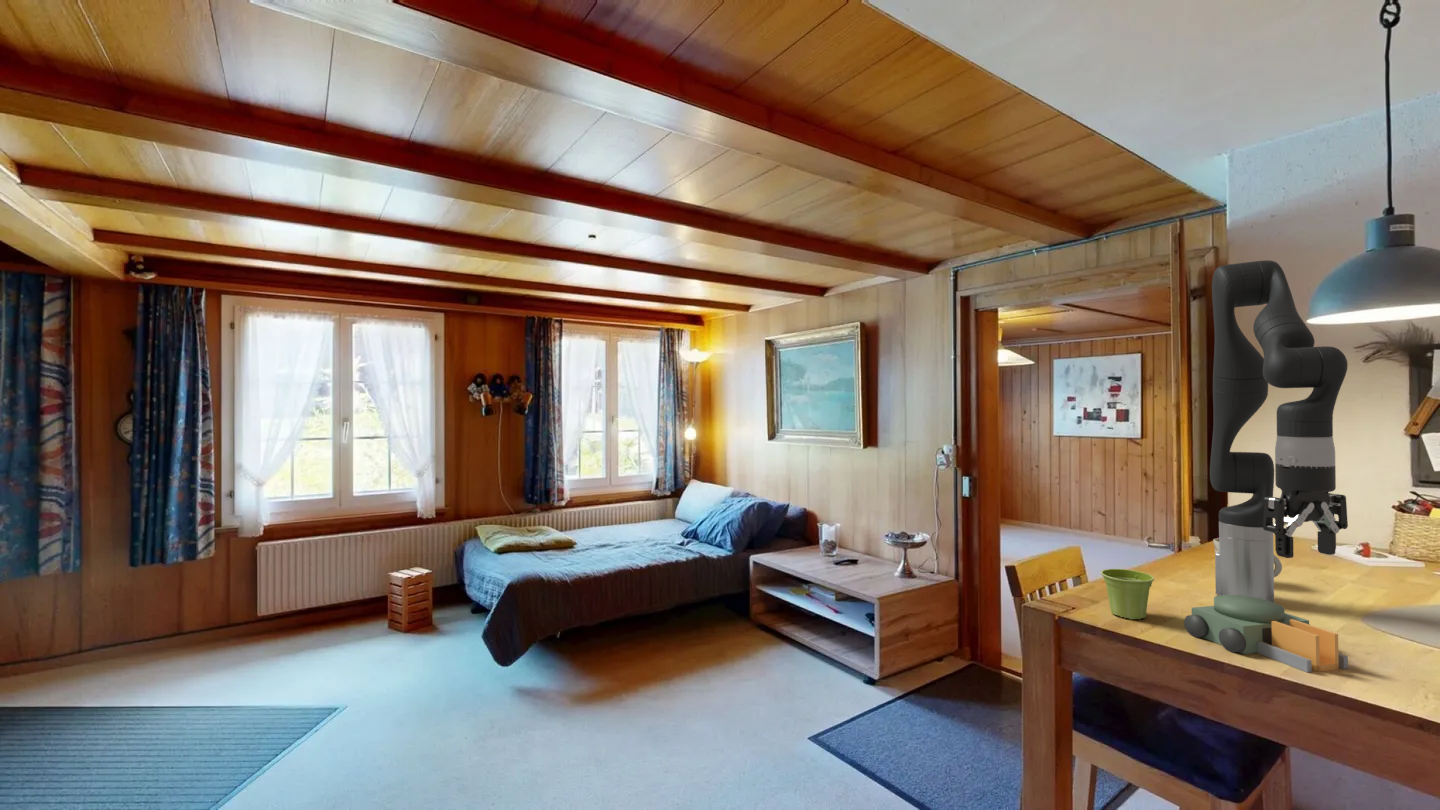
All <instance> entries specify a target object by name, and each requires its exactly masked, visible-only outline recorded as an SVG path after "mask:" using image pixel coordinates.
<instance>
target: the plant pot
mask: <svg viewBox="0 0 1440 810" xmlns="http://www.w3.org/2000/svg"><path fill="white" fill-rule="evenodd" d="M1100 575H1102V577H1103V582H1104V583H1105V587H1106V591H1107V597H1108V603H1109V608H1110V609H1109V610H1110V613H1111V612H1112V613H1113V614H1115V615H1117V616H1118V617H1121V618H1122V617H1125V618H1129V619H1128V620H1133V619H1139V620H1141V619H1146V618H1147V617H1146V615H1147V610H1148V603H1149V595H1150V588H1151V587H1152V583H1153V582H1154V581H1155V577H1154V576H1153V575H1151V574H1149V573H1146V572H1143V571H1139V570H1133V569H1125V568H1108V569H1107V568H1106V569H1103V570H1101V571H1100ZM1112 613H1111V614H1112ZM1113 614H1112V615H1113ZM1115 615H1114V616H1115ZM1125 618H1124V619H1125Z"/></svg>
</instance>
